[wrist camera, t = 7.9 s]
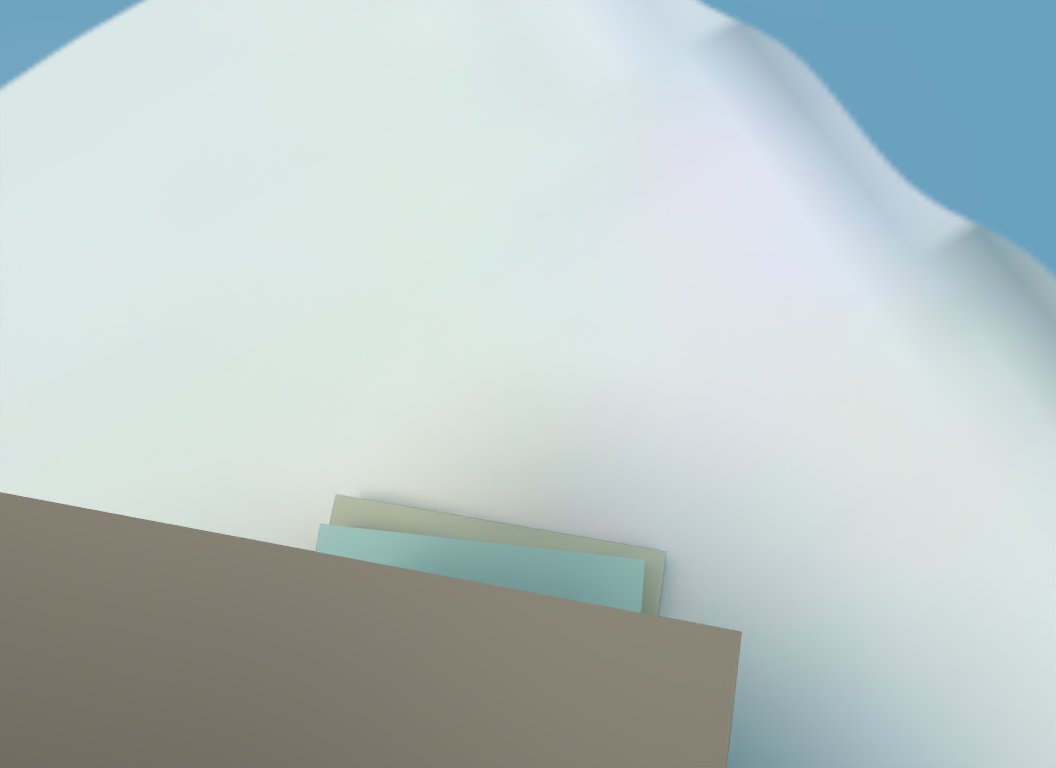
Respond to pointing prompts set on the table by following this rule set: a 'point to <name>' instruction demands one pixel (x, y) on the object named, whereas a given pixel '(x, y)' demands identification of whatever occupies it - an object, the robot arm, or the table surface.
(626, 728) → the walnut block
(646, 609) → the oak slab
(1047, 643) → the table surface
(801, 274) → the table surface
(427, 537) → the green slab
